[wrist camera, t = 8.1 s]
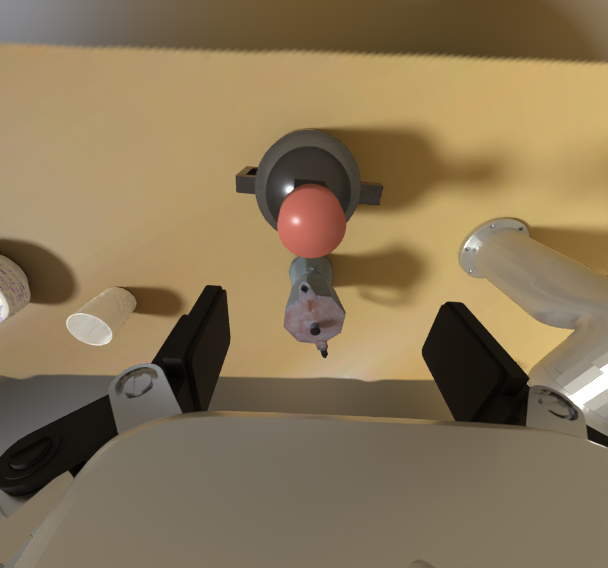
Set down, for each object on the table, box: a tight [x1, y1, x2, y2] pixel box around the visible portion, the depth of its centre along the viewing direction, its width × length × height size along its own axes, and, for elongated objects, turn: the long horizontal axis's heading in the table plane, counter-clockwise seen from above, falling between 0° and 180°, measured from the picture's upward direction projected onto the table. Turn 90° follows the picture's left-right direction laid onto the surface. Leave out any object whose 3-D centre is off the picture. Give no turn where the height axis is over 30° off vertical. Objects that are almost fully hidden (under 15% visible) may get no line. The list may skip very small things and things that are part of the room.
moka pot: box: [284, 256, 346, 358], centre depth 46 cm, size 10×15×20 cm, turn 19°
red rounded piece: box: [277, 184, 346, 258], centre depth 26 cm, size 6×6×10 cm
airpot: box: [236, 128, 383, 231], centre depth 34 cm, size 19×13×23 cm
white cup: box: [66, 287, 137, 345], centre depth 53 cm, size 8×8×10 cm
